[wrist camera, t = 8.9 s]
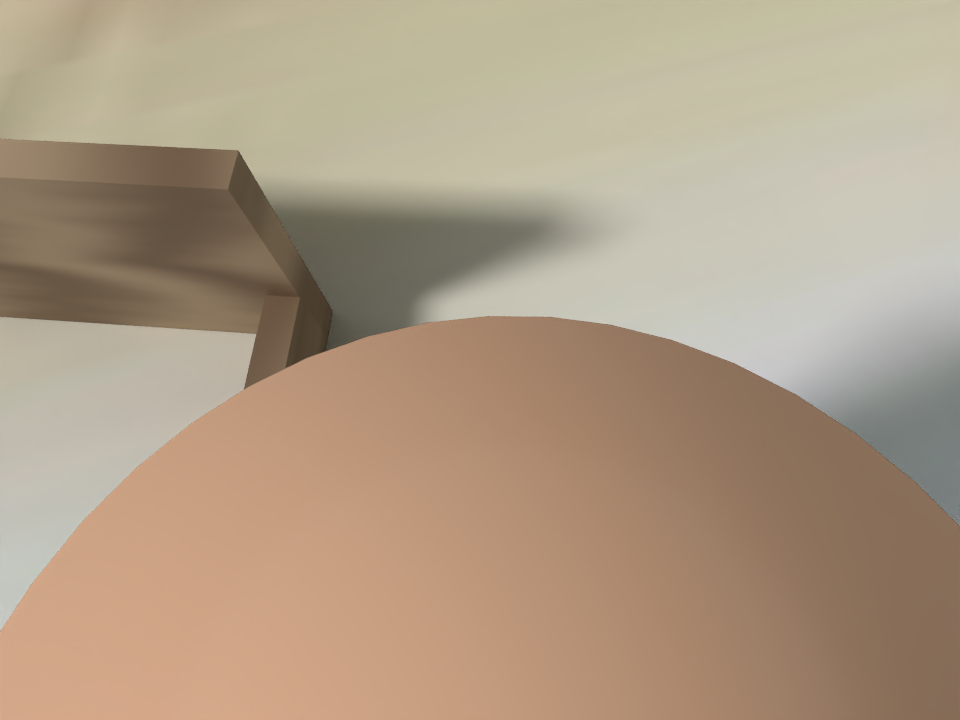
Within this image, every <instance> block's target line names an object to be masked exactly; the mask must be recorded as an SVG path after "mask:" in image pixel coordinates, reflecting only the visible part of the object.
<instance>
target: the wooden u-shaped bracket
mask: <svg viewBox="0 0 960 720" xmlns="http://www.w3.org/2000/svg"><path fill="white" fill-rule="evenodd" d="M331 316H332V309H331V308H330V306H329V304H328V302H327V301H326V299H325V297H324V296H323V294H322V292H321V291H320V289H319V287H318V285H317V284H316V282H315V280H314V279H313V277H312V275H311V273H310V272H309V270H308V268H307V267H306V265H305V263H304V262H303V260H302V258H301V256H300V255H299V253H298V251H297V250H296V248H295V246H294V244H293V243H292V241H291V239H290V238H289V236H288V234H287V233H286V231H285V229H284V227H283V226H282V224H281V222H280V221H279V219H278V217H277V215H276V214H275V212H274V210H273V209H272V207H271V205H270V204H269V202H268V200H267V198H266V197H265V195H264V193H263V192H262V190H261V188H260V186H259V185H258V183H257V181H256V180H255V178H254V176H253V175H252V173H251V171H250V169H249V168H248V166H247V164H246V163H245V161H244V159H243V157H242V156H241V154H240V152H239V151H238V150H217V149H197V148H176V147H156V146H135V145H115V144H95V143H74V142H54V141H33V140H13V139H0V317H14V318H29V319H44V320H59V321H74V322H89V323H104V324H119V325H134V326H150V327H165V328H180V329H195V330H210V331H225V332H240V333H255V334H257V335H256V339H255V344H254V348H253V352H252V357H251V361H250V365H249V370H248V374H247V378H246V383H245V387H244V389H246V388H247V387H249V386H251V385H253V384H255V383H257V382H259V381H261V380H263V379H265V378H267V377H269V376H272V375H274V374H276V373H278V372H280V371H282V370H284V369H286V368H288V367H290V366H292V365H294V364H296V363H298V362H300V361H302V360H304V359H306V358H308V357H311V356H314V355H317V354H320V353H322V352H325V348H326V343H327V338H328V332H329V327H330V321H331Z"/></svg>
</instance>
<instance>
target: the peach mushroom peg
mask: <svg viewBox="0 0 960 720" xmlns="http://www.w3.org/2000/svg"><path fill="white" fill-rule="evenodd" d="M0 720H960V526H959V525H958V524H957V523H956V522H955V521H954V520H953V519H952V518H951V517H950V516H949V515H948V514H947V513H946V512H945V511H944V510H943V509H942V508H941V507H940V506H939V505H938V504H937V503H936V502H935V501H934V500H933V499H932V498H931V497H930V496H929V495H928V494H927V493H926V492H925V491H924V490H923V489H922V488H921V487H920V486H919V485H918V484H917V483H916V482H915V481H913V480H912V479H911V478H910V477H908V476H907V475H906V474H905V473H903V472H902V471H901V470H900V469H899V468H897V467H896V466H895V465H894V464H892V463H891V462H890V461H889V460H887V459H886V458H885V457H884V456H883V455H881V454H880V453H879V452H878V451H876V450H875V449H874V448H873V447H871V446H870V445H869V444H868V443H867V442H865V441H864V440H863V439H862V438H860V437H859V436H858V435H857V434H855V433H854V432H852V431H851V430H849V429H848V428H846V427H845V426H843V425H842V424H840V423H839V422H837V421H835V420H834V419H832V418H831V417H829V416H828V415H826V414H825V413H823V412H822V411H820V410H819V409H817V408H816V407H814V406H812V405H811V404H809V403H808V402H806V401H805V400H803V399H802V398H800V397H799V396H797V395H796V394H794V393H792V392H790V391H788V390H786V389H784V388H782V387H780V386H778V385H776V384H774V383H772V382H770V381H768V380H766V379H764V378H762V377H760V376H758V375H756V374H754V373H752V372H750V371H748V370H746V369H744V368H742V367H740V366H738V365H737V364H735V363H732V362H729V361H727V360H724V359H721V358H719V357H716V356H713V355H711V354H708V353H705V352H703V351H700V350H697V349H695V348H692V347H689V346H687V345H684V344H681V343H679V342H676V341H673V340H670V339H666V338H662V337H658V336H654V335H649V334H645V333H641V332H637V331H633V330H629V329H625V328H621V327H617V326H613V325H608V324H600V323H592V322H585V321H577V320H569V319H561V318H554V317H508V316H486V317H477V318H468V319H458V320H449V321H440V322H431V323H424V324H420V325H416V326H411V327H407V328H403V329H398V330H394V331H390V332H385V333H381V334H376V335H372V336H368V337H365V338H362V339H359V340H356V341H353V342H351V343H348V344H345V345H342V346H339V347H337V348H334V349H331V350H328V351H325V352H322V353H320V354H317V355H314V356H311V357H308V358H306V359H304V360H302V361H300V362H298V363H296V364H294V365H292V366H290V367H288V368H286V369H284V370H282V371H280V372H278V373H276V374H274V375H272V376H269V377H267V378H265V379H263V380H261V381H259V382H257V383H255V384H253V385H251V386H249V387H247V388H246V389H244V390H243V391H241V392H240V393H238V394H237V395H235V396H233V397H232V398H230V399H229V400H227V401H226V402H224V403H223V404H221V405H219V406H218V407H216V408H215V409H213V410H212V411H210V412H208V413H207V414H205V415H204V416H202V417H201V418H199V419H198V420H196V421H194V422H193V423H191V424H190V425H189V426H188V427H186V428H185V429H184V430H183V431H181V432H180V433H179V434H178V435H176V436H175V437H174V438H173V439H171V440H170V441H169V442H168V443H167V444H165V445H164V446H163V447H162V448H160V449H159V450H158V451H157V452H155V453H154V454H153V455H152V456H150V457H149V458H148V459H147V460H145V461H144V462H143V463H142V464H140V465H139V466H138V467H137V468H136V469H135V470H134V471H133V472H132V473H131V474H130V475H129V476H128V477H127V478H126V479H125V480H124V481H123V482H122V483H121V484H120V485H119V486H118V487H117V488H116V489H115V490H114V491H113V492H112V493H111V494H110V495H109V496H108V497H107V498H106V499H105V500H104V501H103V502H102V503H101V504H100V505H99V506H98V507H97V508H96V509H95V510H94V511H93V512H92V513H91V514H90V515H89V516H88V517H87V518H86V519H85V520H84V521H83V522H82V523H81V524H80V525H79V526H78V528H77V529H76V530H75V531H74V533H73V534H72V535H71V536H70V538H69V539H68V540H67V541H66V542H65V544H64V545H63V546H62V547H61V549H60V550H59V551H58V552H57V554H56V555H55V556H54V557H53V558H52V560H51V561H50V562H49V563H48V565H47V566H46V567H45V568H44V570H43V571H42V572H41V573H40V574H39V576H38V577H37V578H36V579H35V581H34V582H33V583H32V584H31V586H30V587H29V589H28V590H27V592H26V593H25V595H24V597H23V598H22V600H21V601H20V603H19V604H18V606H17V607H16V609H15V610H14V612H13V613H12V615H11V616H10V618H9V619H8V621H7V622H6V624H5V625H4V627H3V628H2V630H1V631H0Z"/></svg>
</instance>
